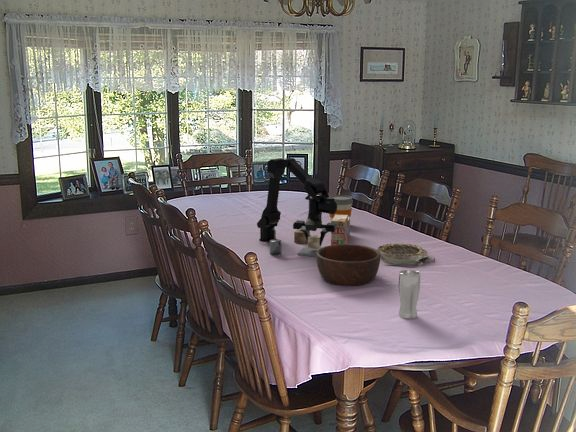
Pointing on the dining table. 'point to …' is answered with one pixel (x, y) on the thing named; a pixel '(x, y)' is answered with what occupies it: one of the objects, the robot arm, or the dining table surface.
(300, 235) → the rectangular block
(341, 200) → the reusable coffee cup
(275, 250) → the dark metal cylinder
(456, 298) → the dining table surface
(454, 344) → the dining table surface
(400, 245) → the pie
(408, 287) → the beer glass
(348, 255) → the wooden bowl
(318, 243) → the ash block
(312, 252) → the slate mat
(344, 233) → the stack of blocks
